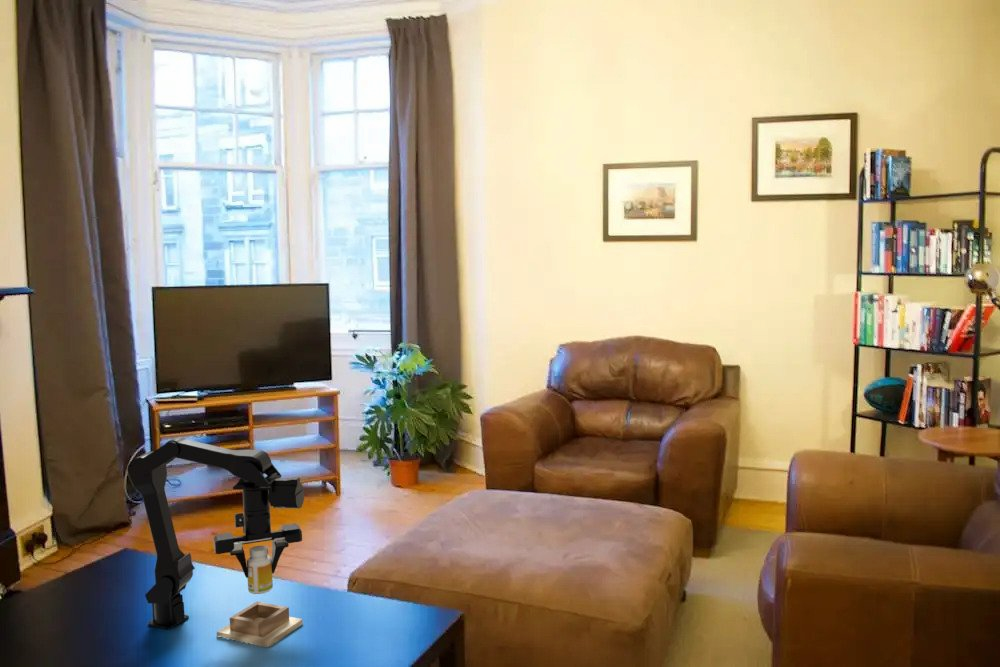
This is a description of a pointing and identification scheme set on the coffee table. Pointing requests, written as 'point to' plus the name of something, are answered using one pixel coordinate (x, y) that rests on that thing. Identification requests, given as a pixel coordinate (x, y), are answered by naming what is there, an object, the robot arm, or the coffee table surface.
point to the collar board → (260, 624)
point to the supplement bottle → (259, 570)
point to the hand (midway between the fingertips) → (259, 574)
